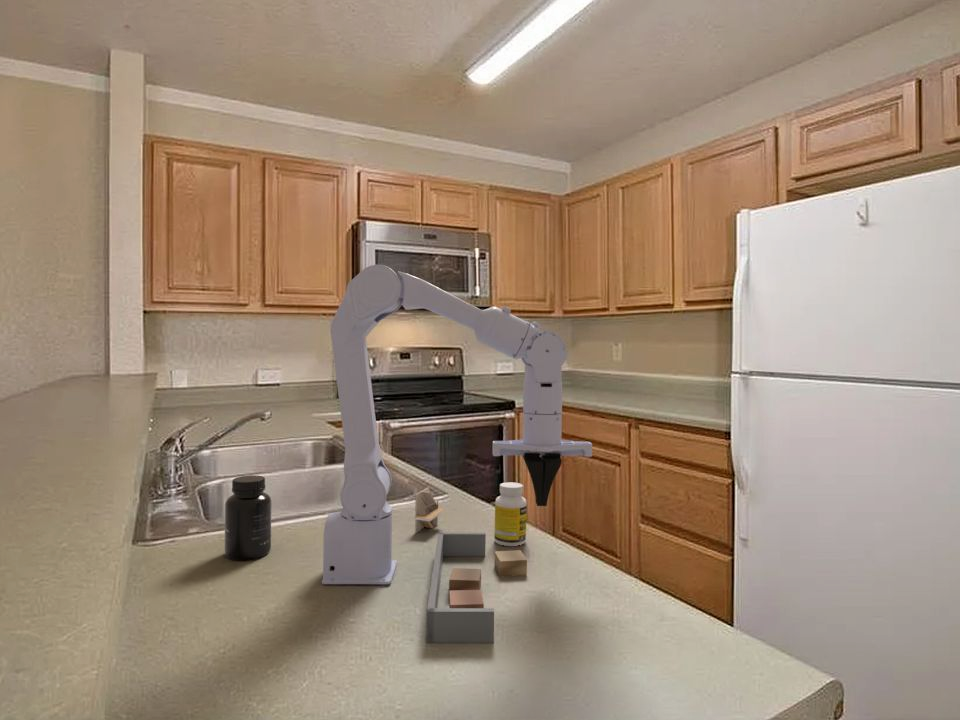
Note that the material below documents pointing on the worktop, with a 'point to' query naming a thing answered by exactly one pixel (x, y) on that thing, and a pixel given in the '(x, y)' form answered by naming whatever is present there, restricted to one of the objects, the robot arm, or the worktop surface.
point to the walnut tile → (465, 579)
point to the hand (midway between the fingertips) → (541, 504)
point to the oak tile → (510, 563)
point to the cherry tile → (465, 599)
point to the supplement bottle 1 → (248, 519)
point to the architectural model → (426, 510)
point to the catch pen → (457, 621)
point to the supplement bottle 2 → (510, 515)
